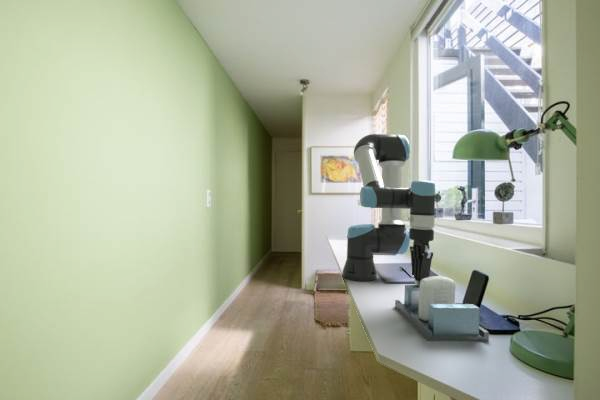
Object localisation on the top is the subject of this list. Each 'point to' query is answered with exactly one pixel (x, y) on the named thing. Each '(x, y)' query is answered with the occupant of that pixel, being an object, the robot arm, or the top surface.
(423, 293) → the white rounded slab
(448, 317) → the vise
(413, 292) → the sliding jaw
